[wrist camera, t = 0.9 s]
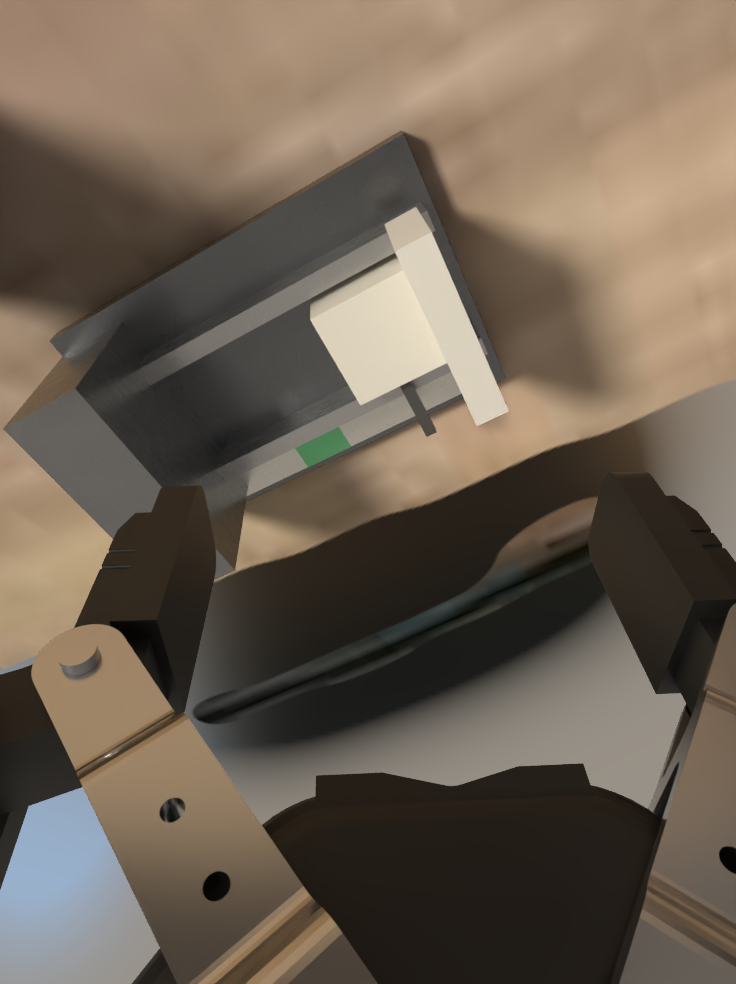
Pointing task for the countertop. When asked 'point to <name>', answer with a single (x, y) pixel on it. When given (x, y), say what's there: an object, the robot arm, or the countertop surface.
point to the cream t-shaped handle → (405, 326)
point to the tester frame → (233, 360)
